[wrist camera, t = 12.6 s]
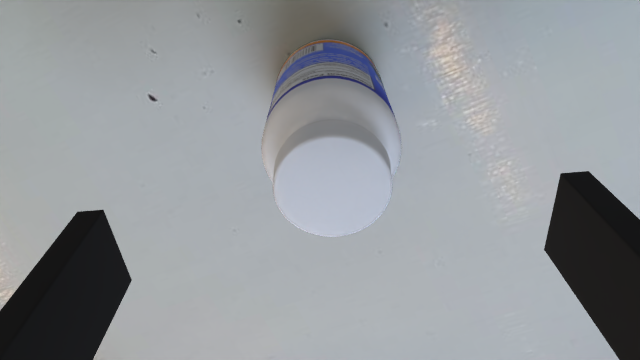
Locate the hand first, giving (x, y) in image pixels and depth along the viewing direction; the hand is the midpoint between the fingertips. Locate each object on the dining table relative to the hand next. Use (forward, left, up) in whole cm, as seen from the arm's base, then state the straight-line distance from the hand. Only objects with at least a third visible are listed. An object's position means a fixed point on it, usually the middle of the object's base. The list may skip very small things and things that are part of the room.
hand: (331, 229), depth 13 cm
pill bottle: (0, 0, -12) cm, 12 cm away
